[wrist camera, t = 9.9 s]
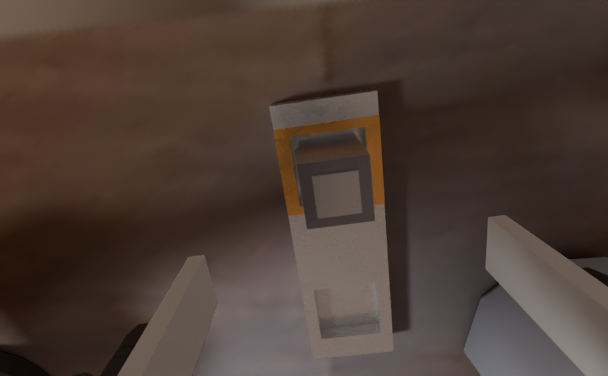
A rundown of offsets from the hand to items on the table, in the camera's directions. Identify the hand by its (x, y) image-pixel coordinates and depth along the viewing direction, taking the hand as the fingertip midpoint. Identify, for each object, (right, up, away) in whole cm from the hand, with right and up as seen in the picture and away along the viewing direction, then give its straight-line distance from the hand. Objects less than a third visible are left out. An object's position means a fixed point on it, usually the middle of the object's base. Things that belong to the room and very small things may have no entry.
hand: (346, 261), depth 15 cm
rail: (+2, -1, +19) cm, 19 cm away
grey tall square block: (0, +6, +15) cm, 16 cm away
